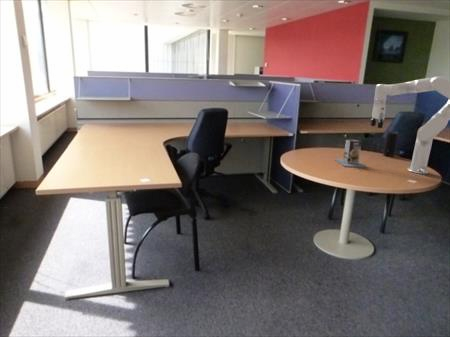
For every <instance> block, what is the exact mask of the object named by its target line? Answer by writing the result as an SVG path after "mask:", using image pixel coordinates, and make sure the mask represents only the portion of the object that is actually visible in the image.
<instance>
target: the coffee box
mask: <svg viewBox="0 0 450 337" xmlns="http://www.w3.org/2000/svg"><path fill="white" fill-rule="evenodd" d="M362 143H363V141H362V140H359V139H346V140H345V145H344V146H345V147H344V152H343V157H342V159H343V161H344V162H346V163H358V162H360V161H359V160H360V155H361V150H362V149H361V148H362Z"/></svg>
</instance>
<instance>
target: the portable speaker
mask: <svg viewBox="0 0 450 337" xmlns="http://www.w3.org/2000/svg"><path fill="white" fill-rule="evenodd" d="M398 135H399V132H398V131H395V132H394V131H389V130H388V131H387V133H386V135H385V138H384V144H383V152H382V153H383V154H382V155H383V156H384V157H385V156H388V157H390V158H392V157H394V155H395V153H396V150H397V149H396V148H397V144H398Z"/></svg>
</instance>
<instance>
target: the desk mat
mask: <svg viewBox="0 0 450 337" xmlns="http://www.w3.org/2000/svg"><path fill="white" fill-rule="evenodd" d="M333 159H334V161H335V162H336V163H338V164H339V165H341V166H342V167H344V168H360V169H361V168H363V169H366V168H368V166H367V165H365V164H364V163H363V162H361V161H359V162H358V163H346V162H344V161H343V158H338V157H337V158H333Z"/></svg>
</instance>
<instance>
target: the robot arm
mask: <svg viewBox="0 0 450 337" xmlns="http://www.w3.org/2000/svg"><path fill="white" fill-rule="evenodd" d="M432 91H433V92H434V91H436V92H437V93H439V94H441V96H444V97H445V98H447V99H448V100H447V102H446V103H445V104H444V105H443V106H442V107H441V108H440V109H439V110H438V111H437V112H435V114H433V115H432V116H431V118H430V119H429V120H428V121H427V122H426V123H425V124H424V125H422V126H420V127H419V128H418V130H417V133H416V140H415V144H414V148H413V153H412V159H411V163H410V166H409V167H407V168H406V169H407V171H409V172H411V173H413V174H422V175H426V174H428V173H429V169H428V163H429V158H430V153H431V150H432V144H433V140H434V139H435V137H436V136H437V135H438V134H439V133H441V132H442V131H443V130H444V129H445V128H446V126H447V125H448V122H449V121H450V80H448V79H447V78H446V77H445V76H442V75H438V76H437V75H436V76H432V77H426V78H425V77H424V78H419V79H415V80H410V81H406V82H400V83H392V84H385V83H379V84H376V86H375V92H374V99H373V107H372V112H371V114H370V117H371V119H370V120H371V121H370V122H371V123H370V126H371V127H376V125H377V128H378V129H383V125H384V122H385V118H386V102H387V96H390V97H391V96H396V95H403V94H404V95H406V94H417V93H425V92H432ZM377 120H378V122H377Z"/></svg>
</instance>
